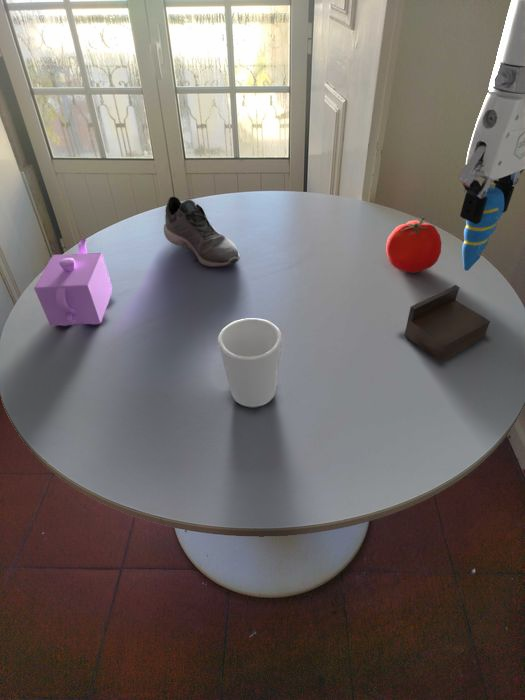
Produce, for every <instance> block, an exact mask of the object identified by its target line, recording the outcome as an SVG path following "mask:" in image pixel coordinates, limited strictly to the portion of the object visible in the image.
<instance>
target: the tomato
mask: <svg viewBox="0 0 525 700" xmlns="http://www.w3.org/2000/svg"><path fill="white" fill-rule="evenodd" d="M425 219H426V218H425V217H422V219H421V220H420V221H419V220H418V219H415V220H408V222H406V223H402V224H399V225H398V226H396V227H395V228H394V230H393V231H392V232H391V233H390V235H389V236H388V238H387V241H386V245H385V248H386V249H385V250H386V256H387V259H388V261H389V263H390V265H392V266H393V267H394V268H395V269H397V270H399V271H403V272H407V273H410V274H411V273H412V274H413V273H417V274H418V273H420V272H423V271H425V270H427V269H430V268H432V267H433V266H434V265H435V264H436V263H437V262H438V260H439V258H440V255H441V253H442V239H441V235H440V233H439V232H438V230H437V228H436V227H435V225H432V224H430V223H425V222H424V223H423V221H424V220H425Z"/></svg>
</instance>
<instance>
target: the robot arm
mask: <svg viewBox="0 0 525 700" xmlns="http://www.w3.org/2000/svg"><path fill="white" fill-rule="evenodd" d="M482 168H483V170H481V169H482ZM524 171H525V0H511V2H510V5H509V8H508V12H507V16H506V20H505V24H504V28H503V32H502V36H501V39H500V43H499V47H498V51H497V55H496V58H495V64H494V66H493V70H492V74H491V78H490V81H489V85H488V92H487V93H486V96H485V99H484V102H483V104H482V107H481V110H480V112H479V115H478V117H477V119H476V123H475V127H474V129H473V132H472V136H471V140H470V143H469V146H468V150H467V155H466V159H465V165H464V167H463V168H462V170H461V172H460V173H459V174H458V180H459V181H460V182H461V183H462V186H463V187H464V189H463V192H464V193H465V195H464V200H463V203H462V206H461V211H460V214H459V215H460V218H462V219H464V220H465V221H466V220H468V221H470V222H472V223H475V224H478V223H480V222H481V218H482V215H483V212H484V208H485V205H486V202H487V198H488V197H485V195H486V193H487V191H488V188H489V186H490V184H491V183H492V181H493V183H495V184H496V185H495V187H496V188H498V189H500V190H501V191H502V192H503V195H504V210H503V213H506V212H507V211H508V208H509V205H510V203H511V199H512V196H513V193H514V190H515V186H517V185H518V183H519V181H520V177H521V174H522V173H523V172H524ZM479 177H480V178H483V181H482V183H480V181H479V180H478V178H479ZM503 213H502V214H503Z"/></svg>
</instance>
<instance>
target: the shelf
mask: <svg viewBox="0 0 525 700" xmlns="http://www.w3.org/2000/svg"><path fill="white" fill-rule="evenodd" d="M459 292H460V286H459V285H457V284H454V285H452V286H450V287H448V288H446V289H443V290H442V291H440V292H438V293H436V294H434V295H432V296H430V297H428V298H426V299H424V300H422V301H419V302H417V303H414V304H413V305H411V306H410V307H409V313H408V317H407V321H406V326H405V329H404V330H405V331H404V336H405V338H407V339H409V340H410V341H411V342H413V344H415V345H416V346H418V347H419V348H421V349H422V350H423V351H424V352H426V353H428V354H429V355H430V356H432V357H433V358H434V359H436V360H437V361H439V363H441V362H443V361H445V360H447V359H448V358H450V357H452V356H453V355H455V354H457V353H459V352H461V351H463V350H464V349H466V348H468V347H470V346H472V345H473V344H475V343H477V342H479V341H480V340H482V339H485V336H486V334H487V332H488V329H489V325H490V323H491V320H489V318H486V317H485V316H483V315H481V314H479V313H478V312H476V311H474V310H473V309H471V308H469V307H468V306H467V305H465V304H463V303H462V302H460V301H458V300H457V298H458V295H459Z"/></svg>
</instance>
